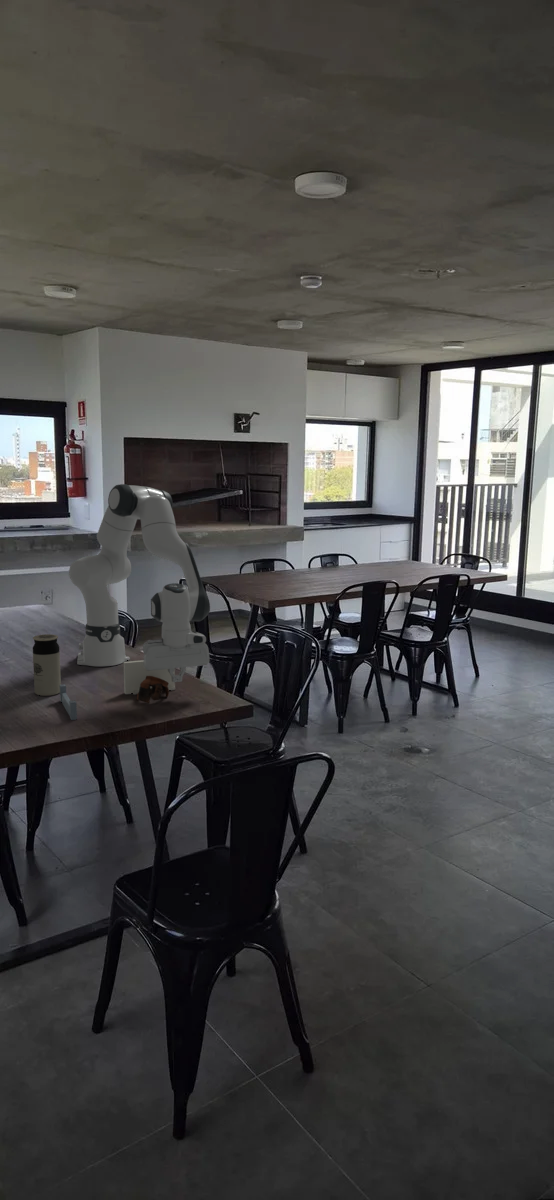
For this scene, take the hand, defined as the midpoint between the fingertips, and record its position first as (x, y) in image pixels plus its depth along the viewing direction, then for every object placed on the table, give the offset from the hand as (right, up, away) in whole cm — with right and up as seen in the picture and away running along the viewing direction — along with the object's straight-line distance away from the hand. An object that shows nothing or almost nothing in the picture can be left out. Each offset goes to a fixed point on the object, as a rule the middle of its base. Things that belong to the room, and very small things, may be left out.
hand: (176, 681), depth 247 cm
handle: (-30, -7, -12) cm, 33 cm away
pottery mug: (-7, -6, -1) cm, 9 cm away
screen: (-9, -4, +7) cm, 13 cm away
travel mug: (-41, -4, +5) cm, 41 cm away
